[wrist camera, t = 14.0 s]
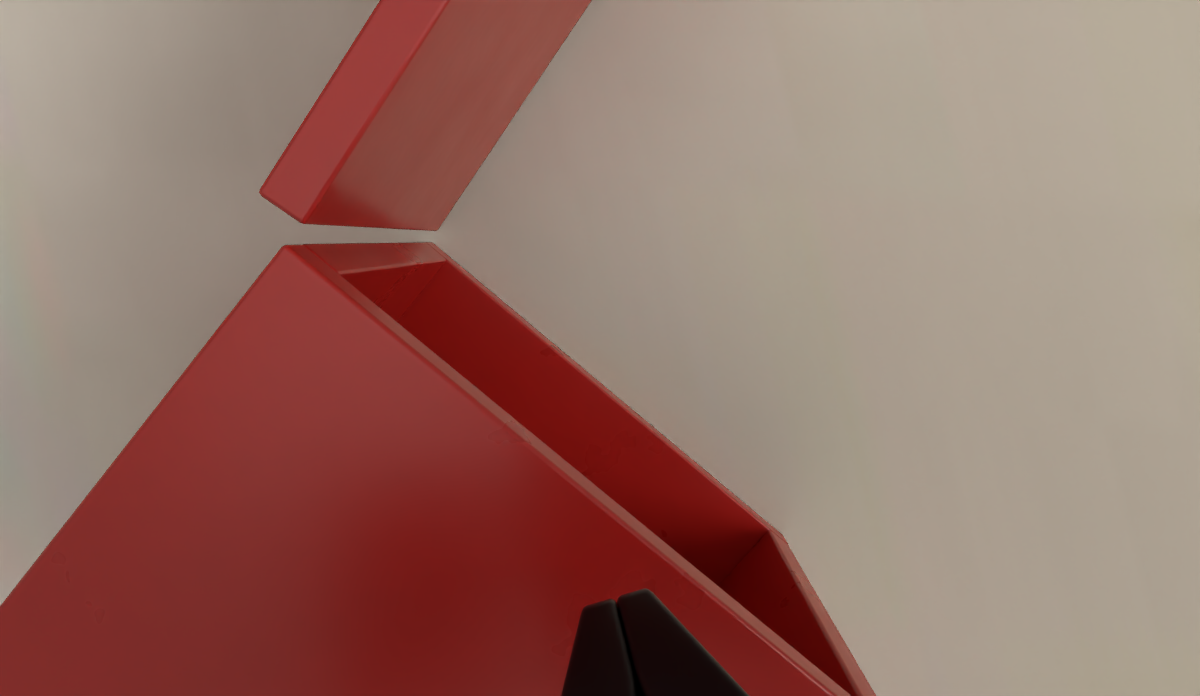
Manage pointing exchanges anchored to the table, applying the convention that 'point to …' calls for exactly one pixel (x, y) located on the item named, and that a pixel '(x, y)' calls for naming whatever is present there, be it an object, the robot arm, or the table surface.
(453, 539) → the valve cabinet
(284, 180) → the door
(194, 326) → the table surface
